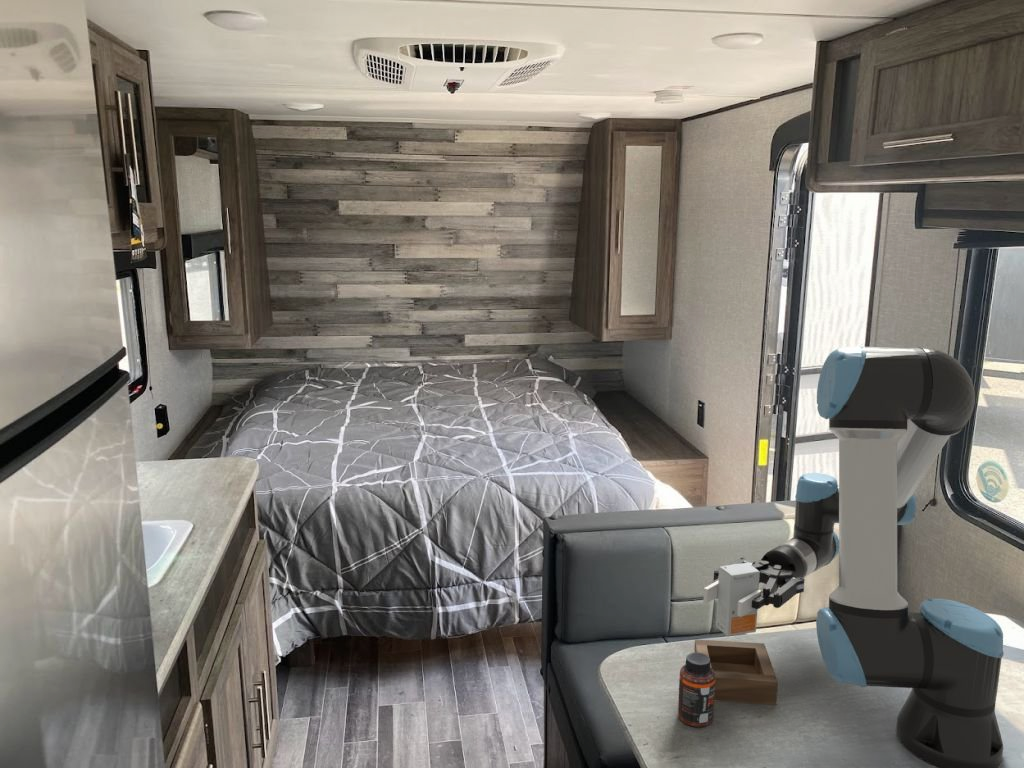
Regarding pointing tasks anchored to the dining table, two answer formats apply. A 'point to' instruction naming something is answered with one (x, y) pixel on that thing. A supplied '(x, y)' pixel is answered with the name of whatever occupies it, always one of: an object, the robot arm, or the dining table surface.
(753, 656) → the walnut tray
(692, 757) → the dining table surface
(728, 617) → the skincare box
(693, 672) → the supplement bottle
